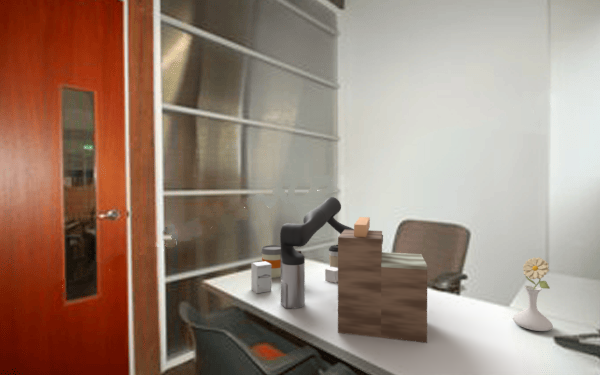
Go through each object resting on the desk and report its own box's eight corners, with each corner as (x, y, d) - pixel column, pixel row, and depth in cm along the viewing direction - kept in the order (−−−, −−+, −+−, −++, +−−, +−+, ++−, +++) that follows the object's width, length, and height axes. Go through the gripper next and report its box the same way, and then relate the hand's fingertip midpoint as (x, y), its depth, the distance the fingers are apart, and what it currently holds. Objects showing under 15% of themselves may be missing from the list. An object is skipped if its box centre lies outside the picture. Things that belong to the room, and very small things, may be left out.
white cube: (325, 280, 170) (325, 269, 170) (331, 278, 175) (331, 266, 175) (335, 283, 167) (335, 271, 166) (341, 280, 171) (341, 268, 171)
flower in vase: (505, 320, 122) (506, 251, 122) (537, 320, 122) (538, 251, 121) (529, 336, 109) (530, 260, 109) (565, 337, 109) (566, 260, 108)
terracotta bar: (359, 226, 136) (359, 217, 136) (369, 227, 135) (369, 217, 135) (354, 236, 113) (354, 224, 113) (366, 236, 112) (366, 225, 112)
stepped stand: (344, 312, 130) (344, 229, 129) (421, 319, 123) (421, 232, 122) (337, 332, 112) (337, 237, 111) (426, 342, 105) (427, 241, 104)
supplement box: (256, 294, 151) (256, 266, 150) (251, 289, 157) (251, 262, 157) (271, 291, 154) (271, 264, 154) (265, 286, 161) (265, 260, 160)
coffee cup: (340, 276, 179) (340, 247, 178) (325, 273, 183) (325, 246, 183) (347, 272, 186) (347, 245, 186) (333, 269, 191) (333, 243, 191)
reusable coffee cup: (276, 270, 189) (275, 244, 189) (289, 275, 180) (289, 247, 179) (257, 274, 181) (256, 247, 181) (270, 280, 172) (270, 250, 171)
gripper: (352, 237, 159) (349, 224, 145) (383, 238, 156) (383, 225, 142) (351, 252, 156) (348, 240, 142) (383, 254, 152) (382, 242, 138)
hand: (365, 233), depth 142 cm, fingers open, 8 cm apart
